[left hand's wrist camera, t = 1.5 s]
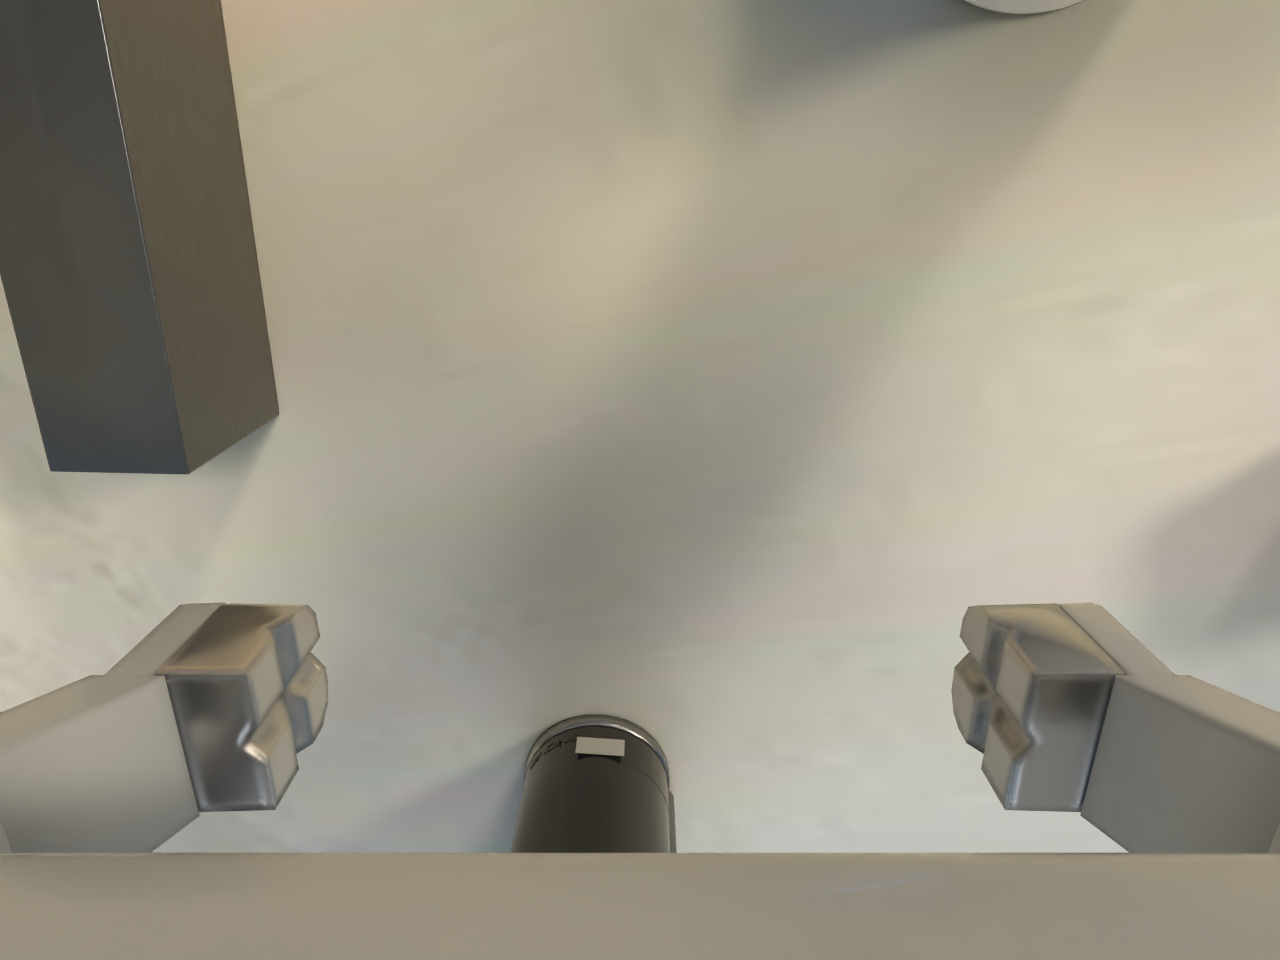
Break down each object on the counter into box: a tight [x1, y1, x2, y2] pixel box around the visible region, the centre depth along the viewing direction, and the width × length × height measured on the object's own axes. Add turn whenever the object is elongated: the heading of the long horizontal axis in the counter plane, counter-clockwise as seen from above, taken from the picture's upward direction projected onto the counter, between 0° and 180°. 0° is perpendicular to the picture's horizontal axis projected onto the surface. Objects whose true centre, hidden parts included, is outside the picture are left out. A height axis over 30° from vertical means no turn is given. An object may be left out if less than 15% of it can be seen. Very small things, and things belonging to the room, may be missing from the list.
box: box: [0, 0, 279, 474], centre depth 35 cm, size 26×6×10 cm, turn 179°
